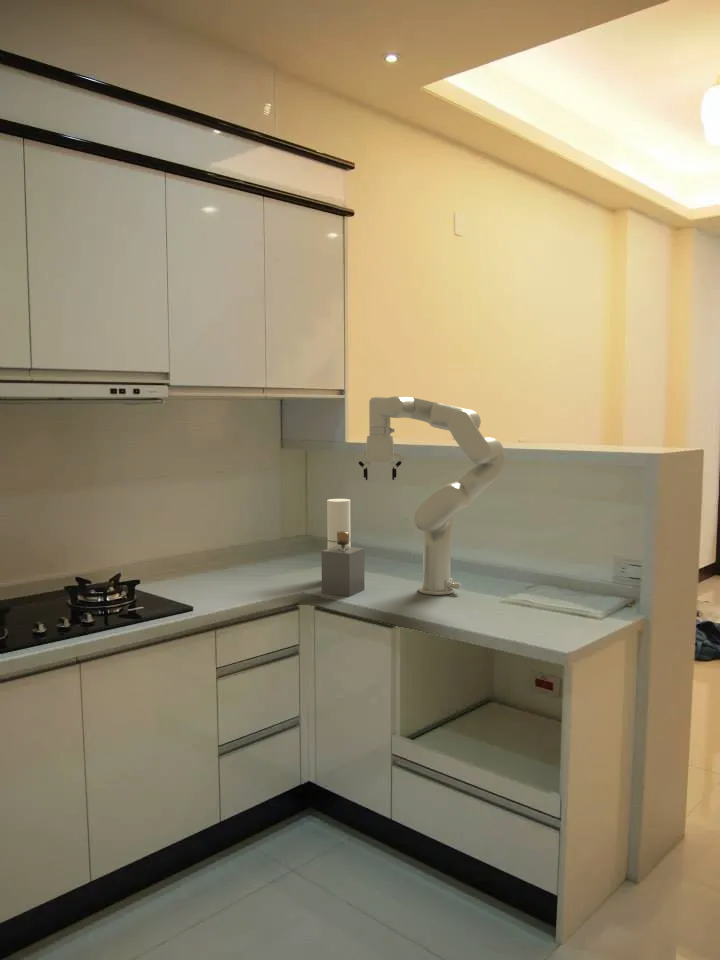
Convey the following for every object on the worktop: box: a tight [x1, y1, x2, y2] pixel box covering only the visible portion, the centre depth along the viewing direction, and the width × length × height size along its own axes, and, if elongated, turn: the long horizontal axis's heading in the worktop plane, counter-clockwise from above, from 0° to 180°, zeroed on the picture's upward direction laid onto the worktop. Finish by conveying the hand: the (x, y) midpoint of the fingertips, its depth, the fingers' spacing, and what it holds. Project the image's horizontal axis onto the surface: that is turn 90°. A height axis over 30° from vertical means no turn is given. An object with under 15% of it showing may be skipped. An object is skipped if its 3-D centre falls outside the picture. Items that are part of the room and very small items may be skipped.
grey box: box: [320, 546, 365, 598], centre depth 266 cm, size 11×11×15 cm
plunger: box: [337, 531, 349, 551], centre depth 266 cm, size 8×8×20 cm
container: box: [326, 498, 352, 549], centre depth 283 cm, size 9×9×30 cm
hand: (379, 479), depth 273 cm, fingers open, 9 cm apart
